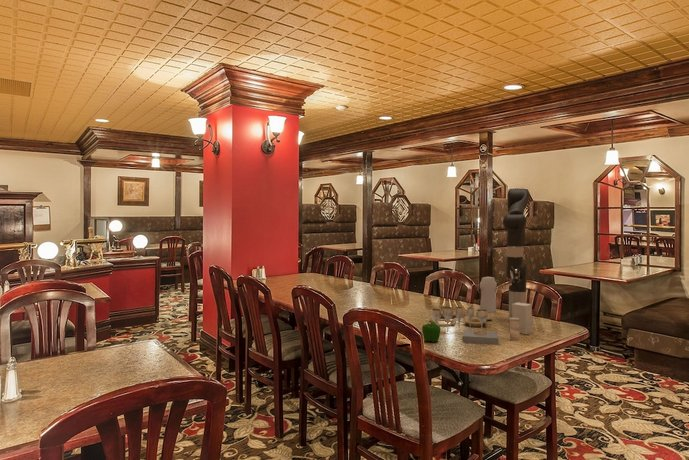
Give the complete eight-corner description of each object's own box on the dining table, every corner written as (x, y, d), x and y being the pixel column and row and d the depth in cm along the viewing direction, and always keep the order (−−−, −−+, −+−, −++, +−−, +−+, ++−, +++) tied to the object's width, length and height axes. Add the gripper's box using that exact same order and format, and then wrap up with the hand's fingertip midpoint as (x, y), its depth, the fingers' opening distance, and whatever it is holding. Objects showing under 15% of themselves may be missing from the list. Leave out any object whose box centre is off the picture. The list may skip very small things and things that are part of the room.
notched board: (463, 335, 228) (463, 329, 228) (496, 337, 224) (496, 331, 223) (463, 342, 216) (463, 336, 216) (498, 344, 212) (498, 338, 212)
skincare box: (533, 333, 231) (533, 304, 230) (525, 335, 227) (525, 305, 227) (518, 329, 238) (518, 301, 237) (511, 331, 234) (511, 303, 234)
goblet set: (432, 334, 232) (432, 308, 232) (431, 331, 238) (431, 306, 237) (488, 335, 228) (488, 309, 228) (486, 332, 234) (486, 306, 234)
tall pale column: (480, 312, 278) (480, 277, 277) (478, 311, 282) (478, 276, 281) (497, 312, 278) (497, 276, 277) (495, 311, 282) (495, 276, 281)
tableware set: (427, 326, 249) (427, 319, 249) (431, 314, 277) (431, 308, 277) (494, 329, 239) (494, 322, 239) (491, 317, 268) (491, 310, 267)
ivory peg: (509, 337, 223) (509, 317, 222) (518, 338, 222) (518, 318, 221) (510, 340, 219) (510, 319, 219) (519, 340, 218) (519, 320, 218)
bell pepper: (419, 339, 222) (419, 319, 222) (434, 338, 225) (434, 318, 224) (427, 344, 214) (427, 323, 214) (443, 342, 216) (442, 321, 216)
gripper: (505, 254, 227) (505, 286, 227) (507, 256, 213) (507, 291, 214) (521, 254, 225) (521, 287, 225) (524, 257, 211) (524, 291, 212)
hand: (514, 288), depth 219 cm, fingers open, 8 cm apart
